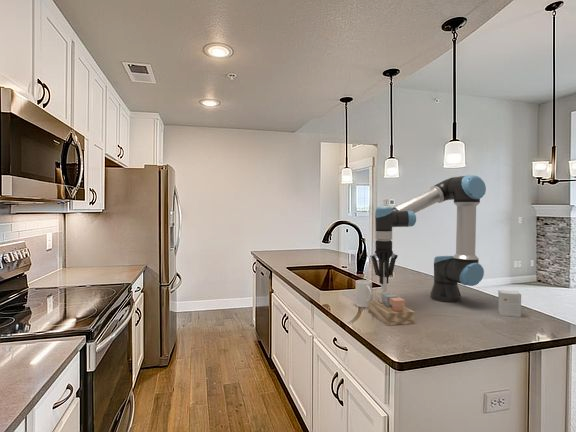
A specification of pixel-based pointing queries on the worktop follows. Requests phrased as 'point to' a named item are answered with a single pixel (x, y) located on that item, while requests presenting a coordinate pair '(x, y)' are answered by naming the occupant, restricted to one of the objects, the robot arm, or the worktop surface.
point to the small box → (509, 303)
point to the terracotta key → (397, 304)
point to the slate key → (386, 299)
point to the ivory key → (380, 295)
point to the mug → (363, 293)
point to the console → (390, 314)
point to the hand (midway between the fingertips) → (383, 290)
